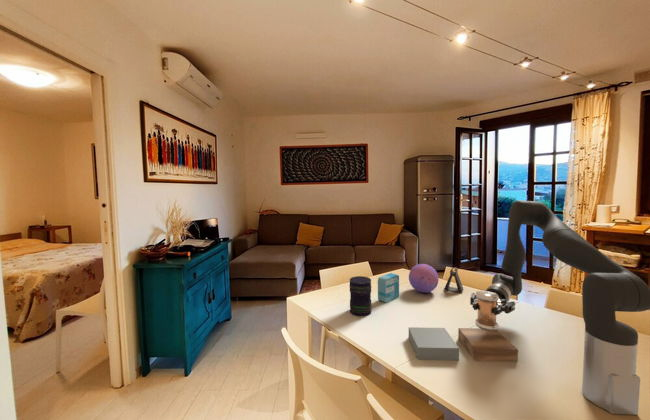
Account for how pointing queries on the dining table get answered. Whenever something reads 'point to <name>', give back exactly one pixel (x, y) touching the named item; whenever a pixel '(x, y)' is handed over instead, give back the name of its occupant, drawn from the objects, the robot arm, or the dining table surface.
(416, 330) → the slate stand
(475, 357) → the walnut stand
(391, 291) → the data package
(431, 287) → the decorative ball
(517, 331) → the dining table surface
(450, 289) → the phone stand
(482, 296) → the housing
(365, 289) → the dark blue cylinder
